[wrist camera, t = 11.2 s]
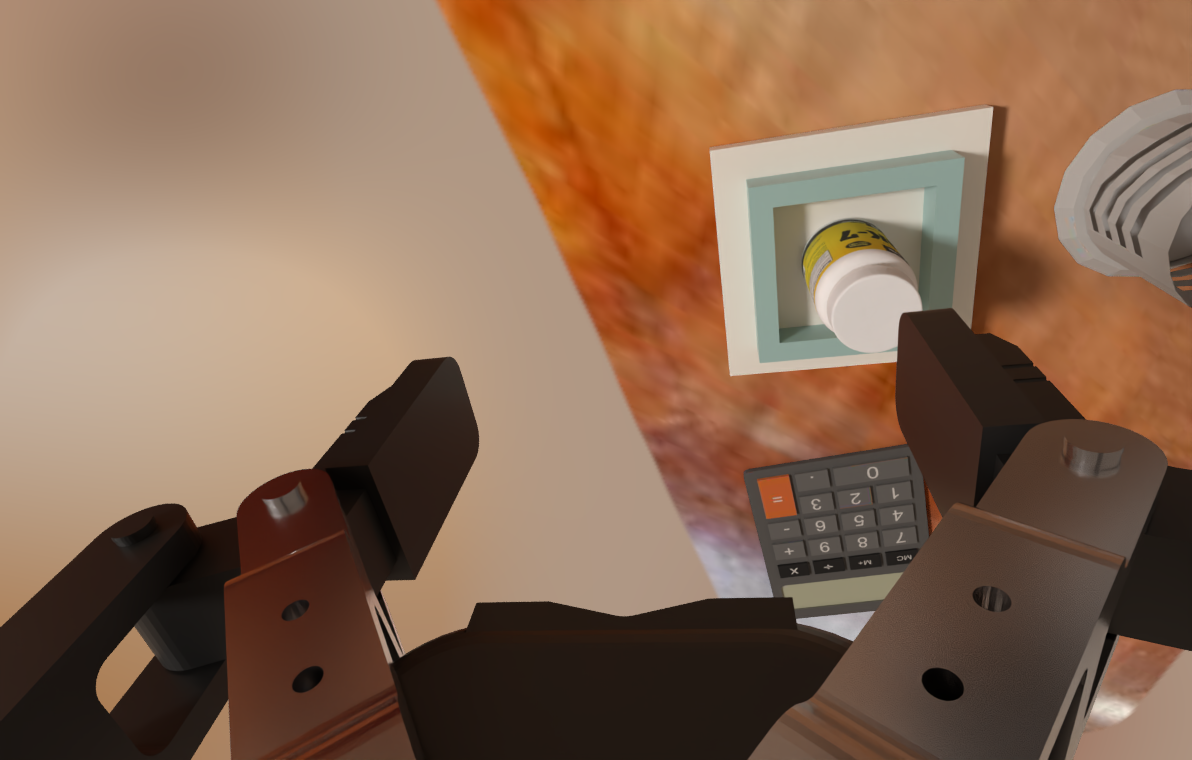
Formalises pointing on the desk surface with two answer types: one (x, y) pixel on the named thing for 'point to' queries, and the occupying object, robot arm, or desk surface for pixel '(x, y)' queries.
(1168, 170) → the french press
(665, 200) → the desk surface
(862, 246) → the supplement bottle
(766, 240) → the dock socket
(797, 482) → the calculator
